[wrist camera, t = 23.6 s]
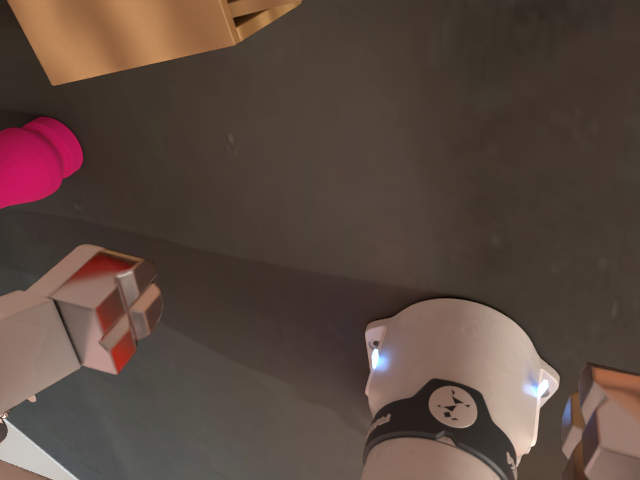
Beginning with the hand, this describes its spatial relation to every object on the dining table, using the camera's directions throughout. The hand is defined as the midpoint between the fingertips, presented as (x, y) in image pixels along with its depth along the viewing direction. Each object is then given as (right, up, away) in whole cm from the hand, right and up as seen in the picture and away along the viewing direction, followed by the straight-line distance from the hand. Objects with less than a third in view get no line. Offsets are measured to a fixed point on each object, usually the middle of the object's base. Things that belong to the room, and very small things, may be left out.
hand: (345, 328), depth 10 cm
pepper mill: (-28, +12, +45) cm, 54 cm away
